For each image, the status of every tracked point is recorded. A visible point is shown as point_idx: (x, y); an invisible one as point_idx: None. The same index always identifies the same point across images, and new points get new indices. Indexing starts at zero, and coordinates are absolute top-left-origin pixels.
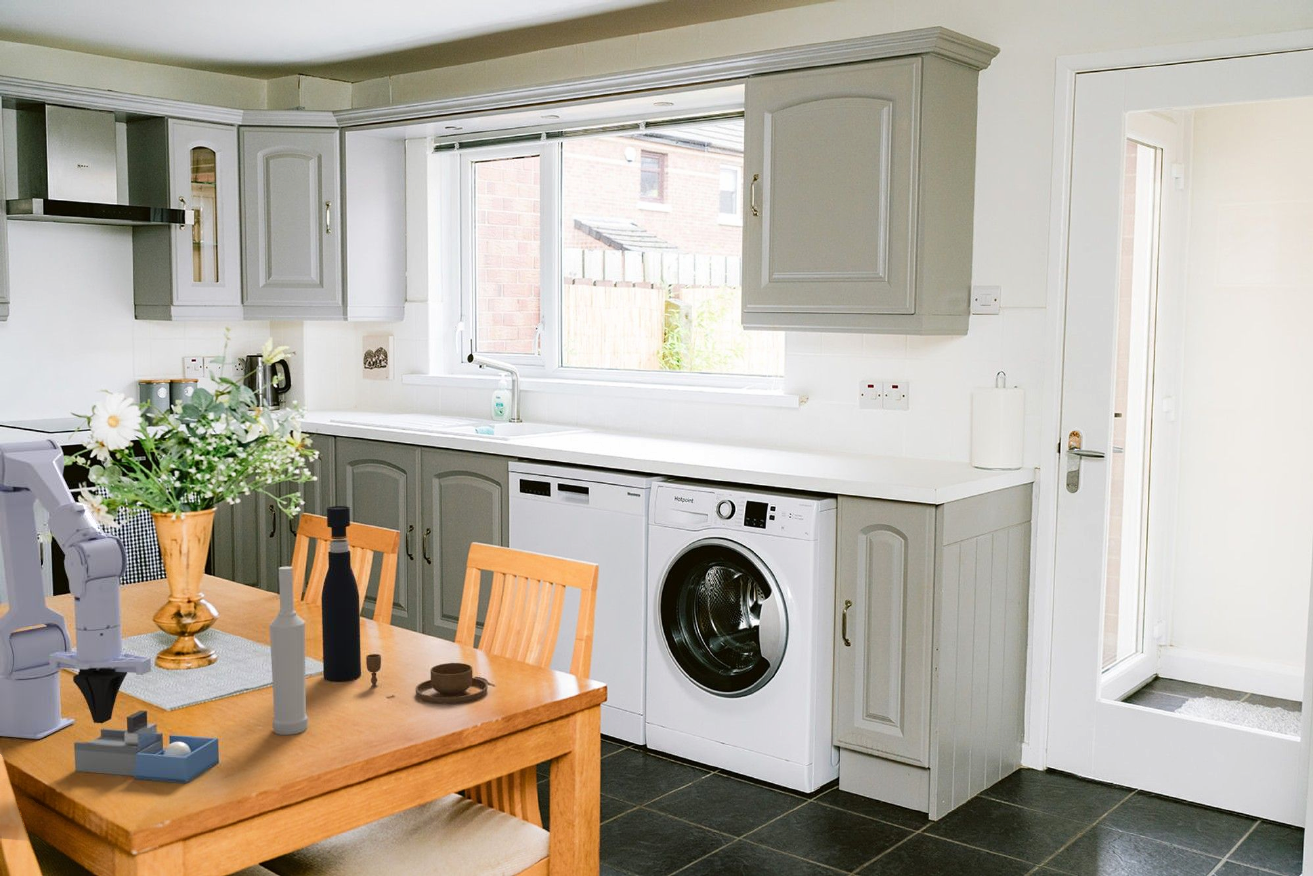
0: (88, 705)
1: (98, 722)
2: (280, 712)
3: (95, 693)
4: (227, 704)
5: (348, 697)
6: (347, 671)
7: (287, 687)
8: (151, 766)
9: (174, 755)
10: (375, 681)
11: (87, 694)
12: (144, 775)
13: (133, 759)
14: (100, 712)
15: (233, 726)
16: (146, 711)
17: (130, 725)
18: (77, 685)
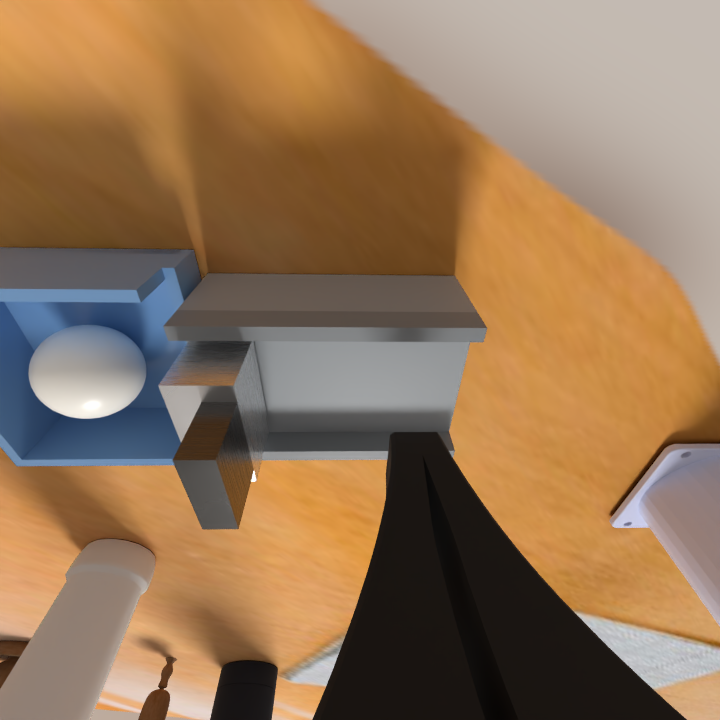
0: (480, 507)
1: (411, 434)
2: (81, 594)
3: (428, 605)
4: (346, 603)
5: (168, 637)
6: (222, 683)
7: (15, 679)
8: (85, 268)
9: (45, 344)
10: (162, 670)
11: (504, 588)
12: (143, 255)
13: (197, 301)
14: (394, 475)
15: (251, 550)
16: (203, 525)
17: (207, 425)
18: (636, 683)
